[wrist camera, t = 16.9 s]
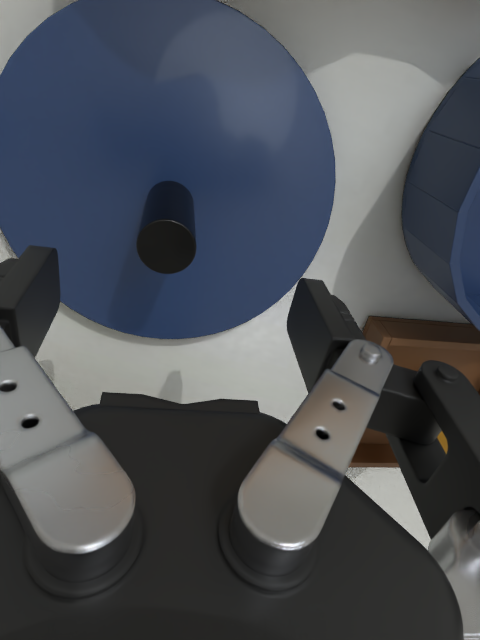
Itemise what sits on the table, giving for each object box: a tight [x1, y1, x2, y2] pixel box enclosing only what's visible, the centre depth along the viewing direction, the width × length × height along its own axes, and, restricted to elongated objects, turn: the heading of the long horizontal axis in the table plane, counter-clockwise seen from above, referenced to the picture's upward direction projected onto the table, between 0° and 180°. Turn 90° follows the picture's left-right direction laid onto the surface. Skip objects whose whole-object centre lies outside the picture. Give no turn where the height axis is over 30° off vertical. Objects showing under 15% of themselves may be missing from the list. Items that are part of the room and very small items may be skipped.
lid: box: [0, 0, 335, 339], centre depth 19 cm, size 17×17×7 cm
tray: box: [349, 316, 480, 467], centre depth 31 cm, size 12×13×2 cm
